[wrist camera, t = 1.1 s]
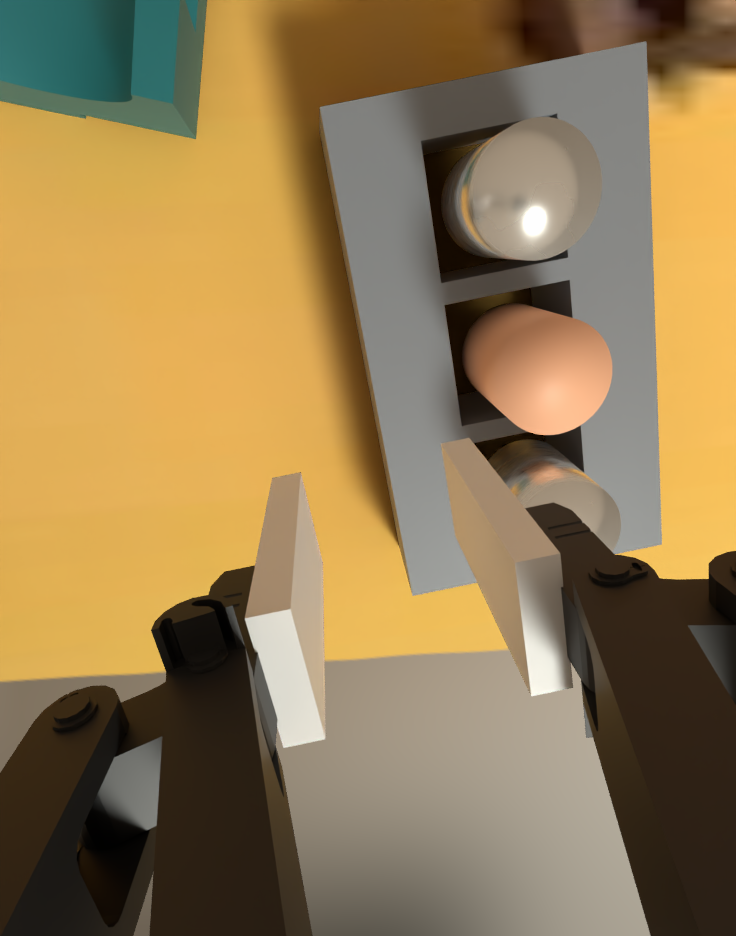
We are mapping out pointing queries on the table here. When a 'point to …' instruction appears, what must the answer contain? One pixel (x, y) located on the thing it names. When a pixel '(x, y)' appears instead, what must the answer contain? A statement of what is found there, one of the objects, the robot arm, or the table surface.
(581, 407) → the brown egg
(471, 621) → the table surface
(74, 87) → the teal l-shaped bracket
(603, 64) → the grey rectangular block
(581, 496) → the steel plug
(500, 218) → the steel plug
